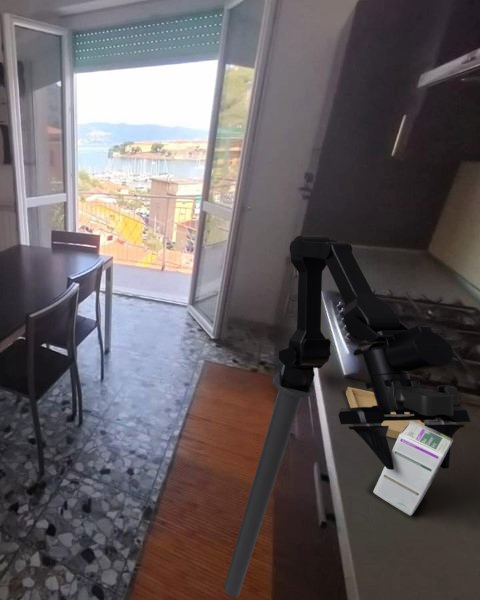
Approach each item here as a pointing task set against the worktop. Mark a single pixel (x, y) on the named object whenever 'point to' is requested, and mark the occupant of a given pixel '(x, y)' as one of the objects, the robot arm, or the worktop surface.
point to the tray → (368, 400)
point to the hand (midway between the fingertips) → (417, 468)
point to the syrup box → (412, 466)
